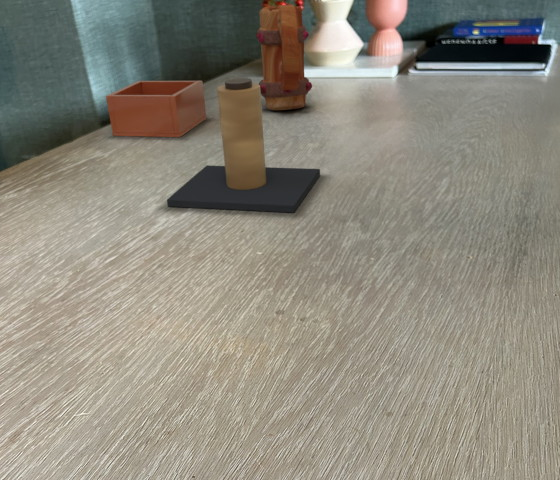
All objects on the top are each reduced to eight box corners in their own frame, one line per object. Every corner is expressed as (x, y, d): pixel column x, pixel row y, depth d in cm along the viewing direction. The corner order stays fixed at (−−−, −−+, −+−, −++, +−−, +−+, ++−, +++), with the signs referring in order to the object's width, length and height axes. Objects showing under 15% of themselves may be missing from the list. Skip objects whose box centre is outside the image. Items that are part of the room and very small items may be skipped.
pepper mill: (221, 189, 73) (210, 85, 67) (234, 176, 76) (225, 76, 70) (259, 190, 72) (252, 85, 66) (271, 177, 75) (265, 76, 69)
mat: (167, 206, 72) (166, 199, 71) (207, 171, 81) (206, 165, 81) (294, 213, 68) (293, 205, 68) (320, 175, 78) (320, 168, 77)
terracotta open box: (113, 135, 98) (105, 96, 95) (144, 117, 106) (138, 80, 103) (180, 137, 95) (174, 96, 92) (206, 118, 103) (202, 80, 100)
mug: (257, 103, 110) (250, -1, 102) (306, 99, 111) (303, -4, 102) (265, 125, 98) (258, 9, 90) (320, 121, 98) (318, 5, 90)
